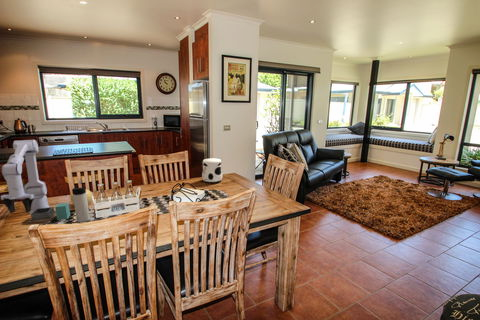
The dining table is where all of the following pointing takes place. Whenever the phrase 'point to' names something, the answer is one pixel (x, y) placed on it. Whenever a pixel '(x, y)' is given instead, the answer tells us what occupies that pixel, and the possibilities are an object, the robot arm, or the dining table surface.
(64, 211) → the teal rectangular block
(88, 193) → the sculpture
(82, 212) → the travel mug
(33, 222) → the mounting board
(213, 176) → the milk container
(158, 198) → the dining table surface
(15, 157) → the robot arm
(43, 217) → the cup bracket
